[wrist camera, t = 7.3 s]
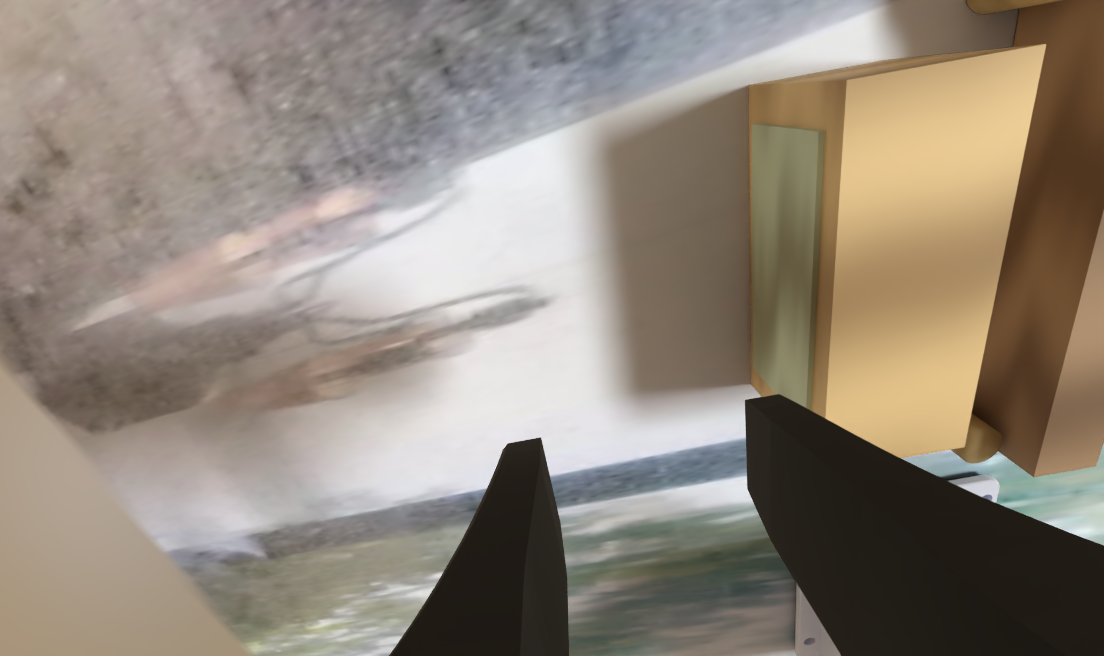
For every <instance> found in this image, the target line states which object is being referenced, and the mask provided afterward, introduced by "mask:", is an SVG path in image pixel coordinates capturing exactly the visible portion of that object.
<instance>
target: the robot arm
mask: <svg viewBox="0 0 1104 656" xmlns="http://www.w3.org/2000/svg"><path fill="white" fill-rule="evenodd" d="M745 416H746V451H747V485H748V491H749V493H750V495H751V498H752V500H753V502H754V504H755V507H756V509H757V511H758V513H759V516H760V518H761V520H762V522H763V524H764V526H765V528H766V531H767V533H768V535H769V537H770V539H771V541H772V543H773V544H774V546H775V548H776V550H777V551H778V553H779V555H780V556H781V558H782V560H783V561H784V563H785V565H786V566H787V568H788V569H789V571H790V573H791V574H792V576H793V578H794V579H795V581H796V583H797V587H796V629H795V652H796V654H797V656H1104V546H1103V545H1101V544H1098V543H1095V542H1092V541H1090V540H1087V539H1084V538H1082V537H1079V536H1076V535H1074V534H1071V533H1069V532H1066V531H1064V530H1061V529H1059V528H1056V527H1054V526H1051V525H1049V524H1046V523H1044V522H1041V521H1039V520H1036V519H1034V518H1031V517H1029V516H1026V515H1024V514H1021V513H1019V512H1016V511H1014V510H1011V509H1009V508H1006V507H1004V506H1002V505H999V504H997V503H996V500H997V496H998V491H999V483H998V481H997V480H995V479H994V478H993V477H992V476H990V475H978V476H973V477H967V478H961V479H956V480H950V481H946V480H944V479H942V478H940V477H938V476H936V475H933V474H931V473H929V472H927V471H925V470H923V469H921V468H919V467H917V466H915V465H913V464H911V463H909V462H907V461H905V460H903V459H901V458H899V457H897V456H895V455H893V454H891V453H889V452H887V451H885V450H883V449H881V448H879V447H877V446H876V445H874V444H872V443H870V442H868V441H866V440H864V439H862V438H860V437H859V436H857V435H855V434H853V433H851V432H849V431H847V430H846V429H844V428H842V427H840V426H838V425H836V424H835V423H833V422H831V421H829V420H827V419H825V418H824V417H822V416H820V415H818V414H816V413H815V412H813V411H811V410H809V409H807V408H805V407H804V406H802V405H800V404H798V403H796V402H794V401H792V400H790V399H788V398H786V397H784V396H782V395H780V394H776V395H770V396H765V397H760V398H754V399H749V400H745ZM389 656H569V640H568V596H567V573H566V564H565V556H564V548H563V540H562V532H561V524H560V519H559V515H558V510H557V506H556V502H555V497H554V493H553V488H552V484H551V480H550V475H549V471H548V467H547V462H546V458H545V453H544V449H543V445H542V440H541V438H536V439H530V440H525V441H519V442H514V443H508V444H507V445H506V447H505V448H504V449H503V451H502V454H501V457H500V459H499V462H498V464H497V467H496V469H495V472H494V474H493V477H492V479H491V481H490V483H489V486H488V488H487V490H486V492H485V495H484V497H483V499H482V501H481V503H480V505H479V507H478V509H477V511H476V513H475V515H474V517H473V519H472V521H471V523H470V525H469V527H468V529H467V531H466V533H465V535H464V537H463V539H462V541H461V543H460V544H459V546H458V548H457V550H456V551H455V553H454V555H453V557H452V558H451V560H450V562H449V564H448V565H447V567H446V569H445V571H444V572H443V574H442V576H441V578H440V579H439V581H438V583H437V584H436V586H435V588H434V589H433V591H432V593H431V594H430V596H429V597H428V599H427V601H426V602H425V604H424V605H423V607H422V608H421V610H420V611H419V613H418V615H417V616H416V618H415V619H414V621H413V622H412V624H411V625H410V626H409V628H408V629H407V631H406V632H405V634H404V635H403V637H402V638H401V640H400V641H399V643H398V644H397V645H396V647H395V648H394V650H393V651H392V652H391V654H390V655H389Z"/></svg>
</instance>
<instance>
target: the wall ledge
mask: <svg viewBox="0 0 1104 656" xmlns="http://www.w3.org/2000/svg"><path fill="white" fill-rule="evenodd" d="M966 1H967V4H968V6H969V7H970V9H971V10H972V11H974V12H975V13H978V14H990V13H996V12H1001V11H1007V10H1012V9H1018V8H1020V10H1019V16H1018V22H1017V28H1016V34H1015V40H1014V45H1013V47H1020V46H1030V45H1040V44H1046V48H1045V53H1044V58H1043V63H1042V68H1041V73H1040V78H1039V83H1038V88H1037V93H1036V98H1035V102H1034V107H1033V112H1032V117H1031V122H1030V127H1029V132H1028V137H1027V142H1026V147H1025V152H1024V157H1023V162H1022V167H1021V172H1020V176H1019V181H1018V186H1017V191H1016V196H1015V201H1014V206H1013V211H1012V216H1011V221H1010V226H1009V231H1008V236H1007V241H1006V245H1005V250H1004V255H1003V260H1002V265H1001V270H1000V275H999V280H998V285H997V290H996V295H995V300H994V305H993V310H992V315H991V319H990V324H989V329H988V334H987V339H986V344H985V349H984V354H983V359H982V364H981V369H980V374H979V379H978V384H977V388H976V393H975V398H974V403H973V408H972V413H971V418H970V423H969V428H968V433H967V438H966V443H965V447H962V448H956V449H951V450H952V451H953V452H954V453H956V454H957V455H958V456H959V457H961V458H962V459H963V460H964V461H966V462H968V463H979V462H983V461H985V460H987V459H989V458H991V457H992V456H993V455H994V454H996V452H997V451H999V452H1000V453H1002V454H1003V455H1004V456H1006V457H1007V458H1008V459H1010V460H1011V461H1012V462H1014V463H1015V464H1017V465H1018V466H1019V467H1021V468H1022V469H1023V470H1025V471H1026V472H1027V473H1029V474H1030V475H1031V476H1033V477H1038V476H1044V475H1049V474H1055V473H1060V472H1066V471H1072V470H1077V469H1083V468H1088V467H1094V466H1096V464H1097V461H1098V458H1099V455H1100V452H1101V449H1102V446H1103V443H1104V0H966Z"/></svg>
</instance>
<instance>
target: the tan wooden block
mask: <svg viewBox="0 0 1104 656" xmlns="http://www.w3.org/2000/svg"><path fill="white" fill-rule="evenodd" d="M1045 48H1046V44H1040V45H1030V46H1020V47H1010V48H1000V49H990V50H981V51H971V52H961V53H951V54H941V55H931V56H921V57H911V58H901V59H892V60H885V61H879V62H874V63H868V64H863V65H857V66H852V67H846V68H841V69H835V70H830V71H824V72H819V73H813V74H808V75H802V76H797V77H791V78H786V79H780V80H775V81H769V82H764V83H758V84H753V85H749V163H750V283H751V384H752V386H753V387H754V388H755V389H756V391H757V392H758V393H759V394H760V396H761V397H765V396H770V395H776V394H780V395H782V396H784V397H786V398H788V399H790V400H792V401H794V402H796V403H798V404H800V405H802V406H804V407H805V408H807V409H809V410H811V411H813V412H815V413H816V414H818V415H820V416H822V417H824V418H825V419H827V420H829V421H831V422H833V423H835V424H836V425H838V426H840V427H842V428H844V429H846V430H847V431H849V432H851V433H853V434H855V435H857V436H859V437H860V438H862V439H864V440H866V441H868V442H870V443H872V444H874V445H876V446H877V447H879V448H881V449H883V450H885V451H887V452H889V453H891V454H893V455H895V456H897V457H899V458H904V457H910V456H915V455H921V454H927V453H933V452H939V451H945V450H951V449H956V448H962V447H965V443H966V438H967V433H968V428H969V423H970V418H971V413H972V408H973V403H974V398H975V393H976V388H977V384H978V379H979V374H980V369H981V364H982V359H983V354H984V349H985V344H986V339H987V334H988V329H989V324H990V319H991V315H992V310H993V305H994V300H995V295H996V290H997V285H998V280H999V275H1000V270H1001V265H1002V260H1003V255H1004V250H1005V245H1006V241H1007V236H1008V231H1009V226H1010V221H1011V216H1012V211H1013V206H1014V201H1015V196H1016V191H1017V186H1018V181H1019V176H1020V172H1021V167H1022V162H1023V157H1024V152H1025V147H1026V142H1027V137H1028V132H1029V127H1030V122H1031V117H1032V112H1033V107H1034V102H1035V98H1036V93H1037V88H1038V83H1039V78H1040V73H1041V68H1042V63H1043V58H1044V53H1045Z"/></svg>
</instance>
